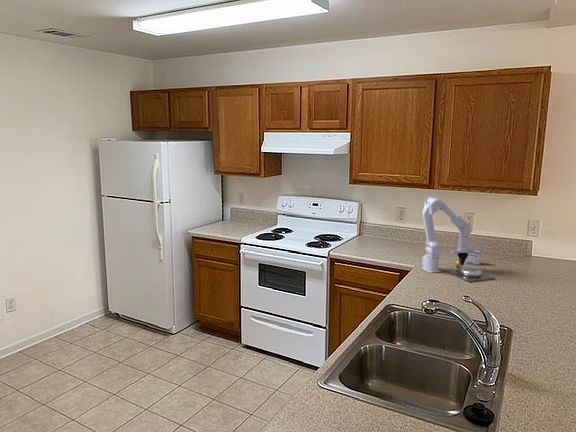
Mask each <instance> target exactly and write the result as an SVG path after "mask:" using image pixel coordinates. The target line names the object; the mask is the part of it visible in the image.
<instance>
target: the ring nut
mask: <svg viewBox="0 0 576 432" xmlns="http://www.w3.org/2000/svg"><path fill="white" fill-rule="evenodd" d="M455 268H456V270H461V274H463V275H465V276H469V277H480V276H481V274H482V270H481V269H480V268H478V267H477V268H475V267H471V266H468V267H463V266H462V265H461V261H460V260H456V265H455Z"/></svg>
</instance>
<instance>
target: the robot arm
mask: <svg viewBox="0 0 576 432" xmlns="http://www.w3.org/2000/svg"><path fill="white" fill-rule="evenodd" d="M423 206H424V207H423V209H422V212H421V215H422V220H423V227H424V231H425V232H424V233H425V237H426V241H425V247H424V252H425V253H426V254H424V255H423V256H422V260H421V261H422V262H421V267H420V269H421V270H423V271H425V272H427V273H429V274H432V273H441V272H442V270H439V262H440V261H439V260H440V256H441V255H442V250H441V247H440V245H439V243H438V241H437V237H436V230H435V226H434V225H435V224H434V221H433V215H434V214H435V213H436V212H438V211H442V212H443V213H444V214H446V216H448V217H449V218H450V223H452V224H453V225H454V226H455V227H456V228H457V230H458V231H459V232H458V233H459V235H458V245H457V248H456V249H451V250H450V254H451V255H455V254H456V255H457V257H458V259H459V260H458V261H461V266H464V264H465V263H466V258H467V257H468V254H467V253H475V249H474V248H471V249H469V247H470V246H469V243H470V234H471V233H472V231H473V228H472V226H471V224H469V223H467V221H466V220H465V219H464V218H462V215H460V214H455V213H454V212H453V210H451V208H449V206H448V205H447V204H446V203H445V202H444V201H442V200H441V199H439V198H436V197H433V196H429V197H428V198H427V199H426V200H425V201H424V205H423Z"/></svg>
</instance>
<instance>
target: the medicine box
mask: <svg viewBox="0 0 576 432" xmlns="http://www.w3.org/2000/svg"><path fill="white" fill-rule="evenodd" d="M474 250H475V249H474ZM467 254H468V257H467V258H466V260H465V264H466V265H470V266H471V265H473V266H480V263H481V254H482V251H481V250H475V253H467Z"/></svg>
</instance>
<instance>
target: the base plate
mask: <svg viewBox="0 0 576 432" xmlns="http://www.w3.org/2000/svg"><path fill="white" fill-rule="evenodd" d="M447 274H450V275H452V276H454V277H456V278H459V279H460V280H463V281H465V282H467V283H469V284H470V283H477V282H484V281H485V280H486V281H492V280H493V279H494V280H496V277H494V276H492V275H489V274H487V273H485V272H484V271H483V272H482V274H481V276H480V277H469V276H465V275H463V274H461V270H460V269H455V270H448V271H447Z"/></svg>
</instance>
